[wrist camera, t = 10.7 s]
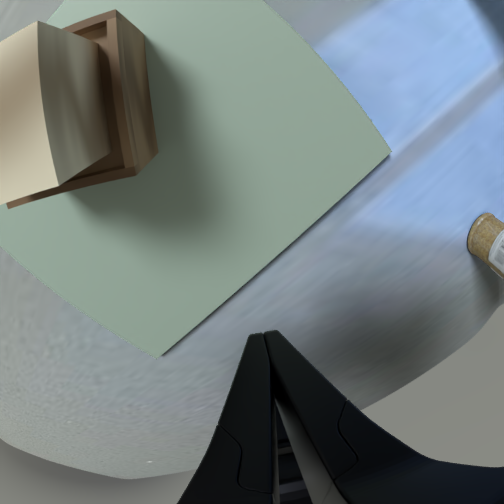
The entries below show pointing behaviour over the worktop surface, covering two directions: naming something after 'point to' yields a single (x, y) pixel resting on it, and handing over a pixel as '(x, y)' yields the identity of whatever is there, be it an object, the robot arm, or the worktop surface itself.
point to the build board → (200, 171)
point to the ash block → (48, 109)
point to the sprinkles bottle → (488, 242)
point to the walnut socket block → (115, 104)
